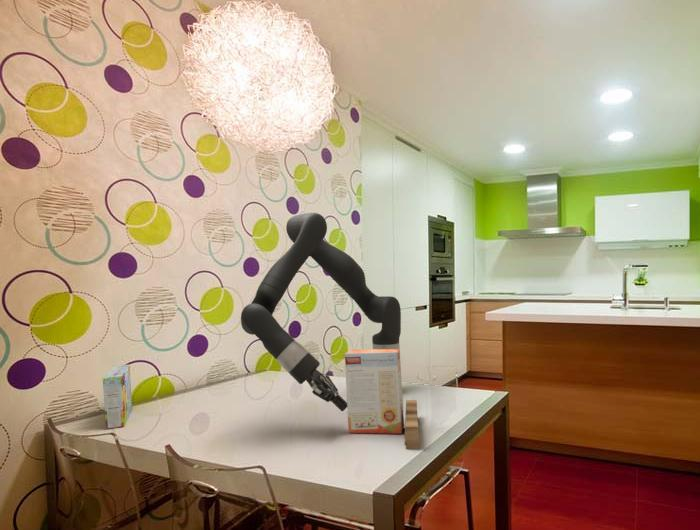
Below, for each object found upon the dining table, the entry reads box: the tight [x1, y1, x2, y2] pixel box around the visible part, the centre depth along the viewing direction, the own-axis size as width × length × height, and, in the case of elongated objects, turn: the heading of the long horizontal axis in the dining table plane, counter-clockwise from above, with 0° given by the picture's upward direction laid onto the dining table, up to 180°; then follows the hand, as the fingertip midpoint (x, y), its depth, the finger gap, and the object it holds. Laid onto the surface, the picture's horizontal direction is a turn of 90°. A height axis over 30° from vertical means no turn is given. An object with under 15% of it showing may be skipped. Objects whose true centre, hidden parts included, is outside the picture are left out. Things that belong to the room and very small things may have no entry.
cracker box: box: [344, 348, 405, 435], centre depth 124 cm, size 14×6×21 cm, turn 77°
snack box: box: [102, 364, 133, 430], centre depth 146 cm, size 21×6×15 cm, turn 19°
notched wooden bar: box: [404, 399, 420, 450], centre depth 121 cm, size 24×3×5 cm, turn 173°
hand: (345, 408), depth 123 cm, fingers closed
